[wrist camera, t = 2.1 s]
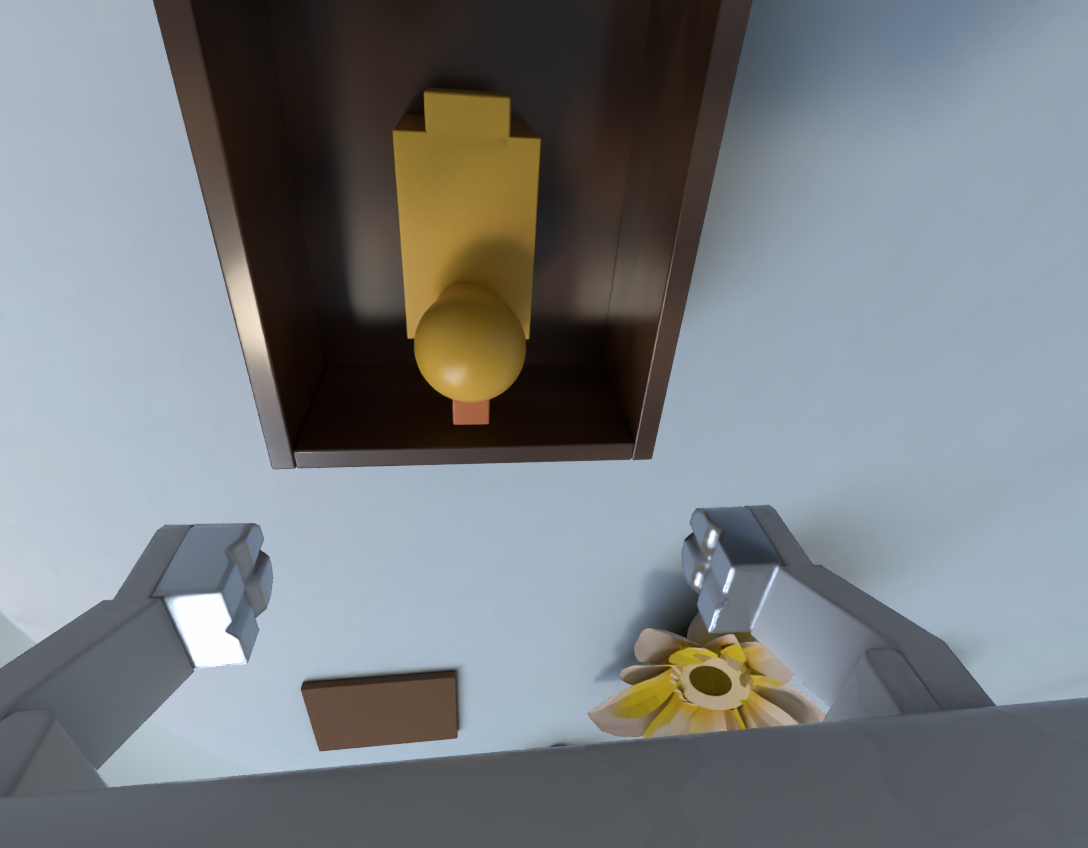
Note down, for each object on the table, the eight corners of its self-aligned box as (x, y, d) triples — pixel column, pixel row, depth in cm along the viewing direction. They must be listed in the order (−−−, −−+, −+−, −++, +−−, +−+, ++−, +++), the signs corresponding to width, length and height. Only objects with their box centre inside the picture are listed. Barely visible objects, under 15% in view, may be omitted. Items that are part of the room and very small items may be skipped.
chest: (611, 373, 27) (652, 460, 21) (312, 373, 25) (271, 470, 19) (676, -51, 18) (773, -90, 13) (226, -101, 16) (106, -175, 11)
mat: (320, 744, 42) (319, 751, 41) (302, 682, 37) (300, 689, 37) (457, 731, 43) (457, 738, 43) (455, 670, 39) (455, 677, 38)
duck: (401, 78, 19) (371, 100, 12) (527, 87, 19) (566, 113, 13) (417, 339, 24) (402, 454, 17) (516, 339, 24) (539, 451, 18)
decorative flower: (655, 568, 32) (756, 750, 26) (787, 559, 38) (899, 708, 31) (558, 695, 41) (614, 859, 34) (677, 674, 46) (747, 811, 39)
